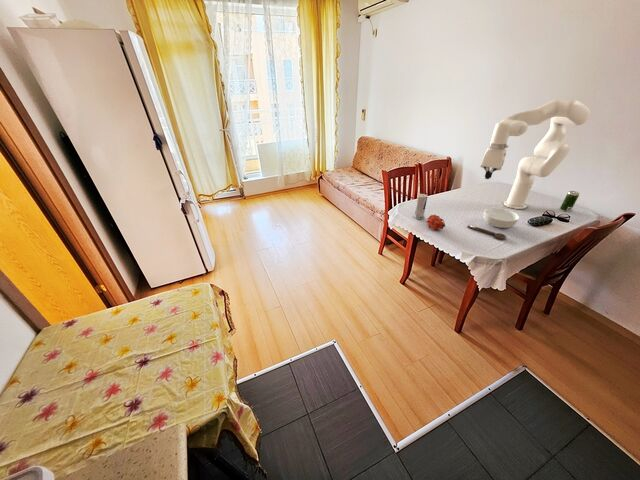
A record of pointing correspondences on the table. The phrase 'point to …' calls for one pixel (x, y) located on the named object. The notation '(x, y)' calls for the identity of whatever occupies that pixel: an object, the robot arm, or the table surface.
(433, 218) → the dragon fruit
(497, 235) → the wooden spoon
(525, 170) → the robot arm
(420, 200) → the beverage can
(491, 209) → the cereal bowl
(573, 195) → the beer can
